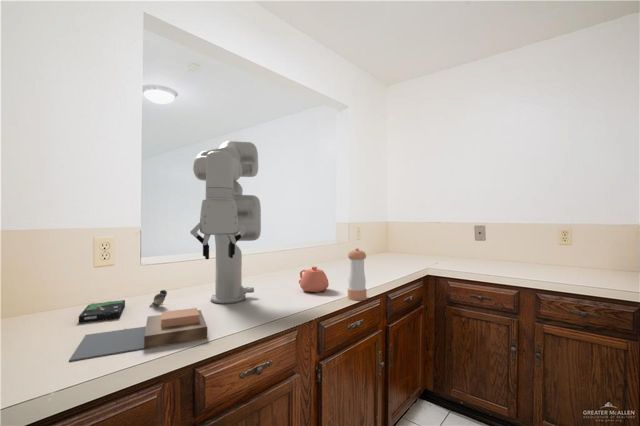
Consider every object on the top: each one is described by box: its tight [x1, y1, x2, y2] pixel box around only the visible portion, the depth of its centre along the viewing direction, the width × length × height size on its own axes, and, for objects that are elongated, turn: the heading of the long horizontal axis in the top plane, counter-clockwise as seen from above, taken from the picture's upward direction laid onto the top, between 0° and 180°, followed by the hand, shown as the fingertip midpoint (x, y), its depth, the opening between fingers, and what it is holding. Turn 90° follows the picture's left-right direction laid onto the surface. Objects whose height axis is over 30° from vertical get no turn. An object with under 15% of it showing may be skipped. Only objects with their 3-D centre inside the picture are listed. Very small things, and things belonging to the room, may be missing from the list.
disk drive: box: [78, 299, 126, 324], centre depth 98 cm, size 10×3×15 cm
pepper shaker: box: [347, 248, 367, 301], centre depth 118 cm, size 7×7×19 cm
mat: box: [68, 325, 146, 363], centre depth 75 cm, size 14×16×1 cm
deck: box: [143, 309, 208, 350], centre depth 82 cm, size 14×16×3 cm
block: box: [160, 307, 199, 328], centre depth 82 cm, size 9×7×2 cm
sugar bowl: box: [298, 266, 329, 293], centre depth 131 cm, size 12×14×10 cm
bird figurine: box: [148, 289, 168, 308], centre depth 106 cm, size 5×5×6 cm
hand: (219, 257), depth 87 cm, fingers open, 5 cm apart
